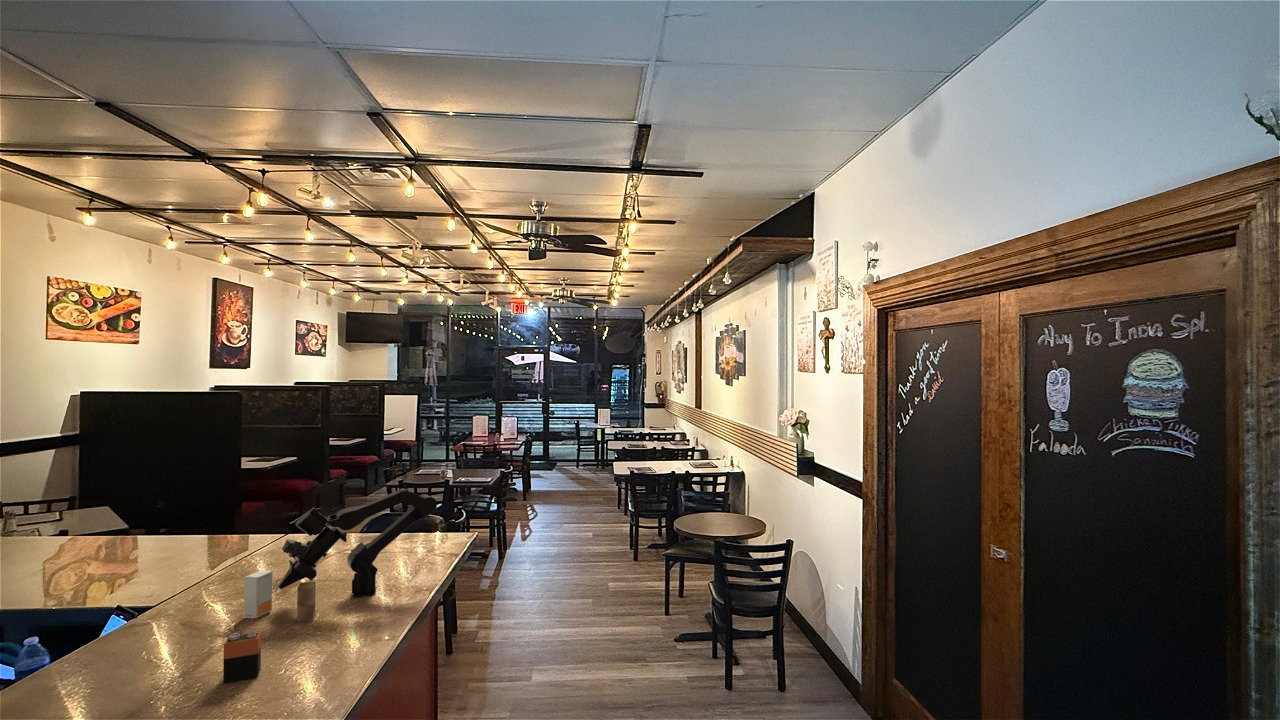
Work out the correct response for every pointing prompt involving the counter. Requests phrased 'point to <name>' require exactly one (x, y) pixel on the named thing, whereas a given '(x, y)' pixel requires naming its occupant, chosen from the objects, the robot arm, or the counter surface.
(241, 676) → the battery
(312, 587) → the walnut block
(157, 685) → the counter surface
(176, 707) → the counter surface
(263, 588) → the skincare box
